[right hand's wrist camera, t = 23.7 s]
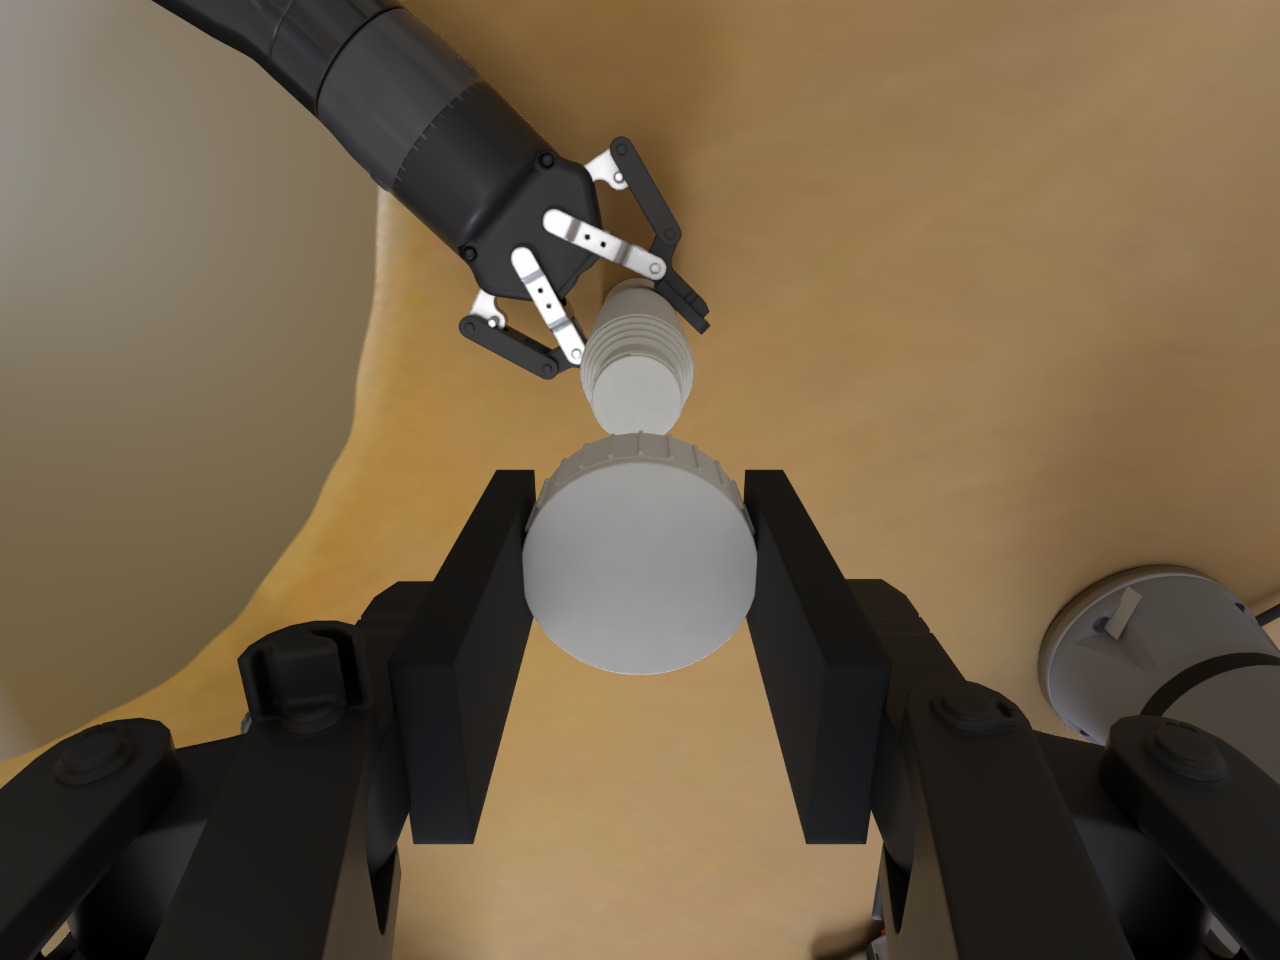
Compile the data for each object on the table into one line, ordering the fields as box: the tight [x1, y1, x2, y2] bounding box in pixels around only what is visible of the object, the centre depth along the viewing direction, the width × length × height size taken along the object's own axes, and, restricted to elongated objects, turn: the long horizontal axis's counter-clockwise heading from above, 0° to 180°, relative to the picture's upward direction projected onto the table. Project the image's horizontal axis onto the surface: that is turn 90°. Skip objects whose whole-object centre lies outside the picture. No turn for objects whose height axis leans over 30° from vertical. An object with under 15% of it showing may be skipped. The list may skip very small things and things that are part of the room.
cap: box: [522, 431, 757, 675], centre depth 14 cm, size 4×4×2 cm
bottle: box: [580, 278, 694, 435], centre depth 35 cm, size 5×5×23 cm
